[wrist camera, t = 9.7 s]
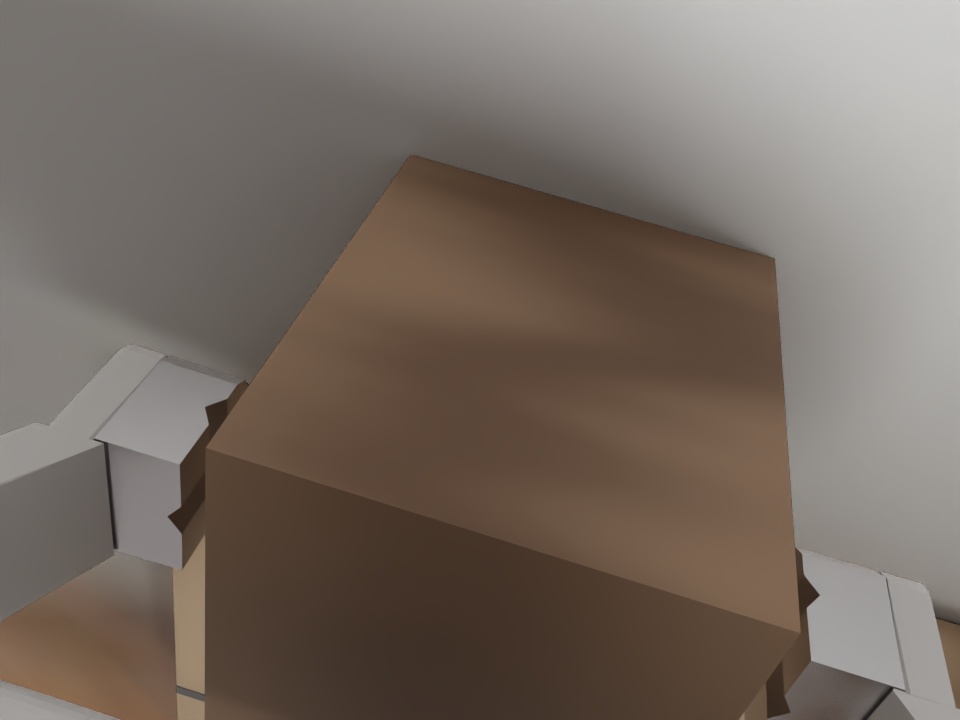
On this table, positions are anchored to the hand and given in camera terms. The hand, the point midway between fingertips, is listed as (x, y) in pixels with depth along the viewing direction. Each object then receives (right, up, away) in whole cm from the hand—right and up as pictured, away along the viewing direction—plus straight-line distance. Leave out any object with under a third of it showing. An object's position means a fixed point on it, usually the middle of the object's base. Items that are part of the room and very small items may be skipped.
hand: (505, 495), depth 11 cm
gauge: (0, -1, +5) cm, 5 cm away
